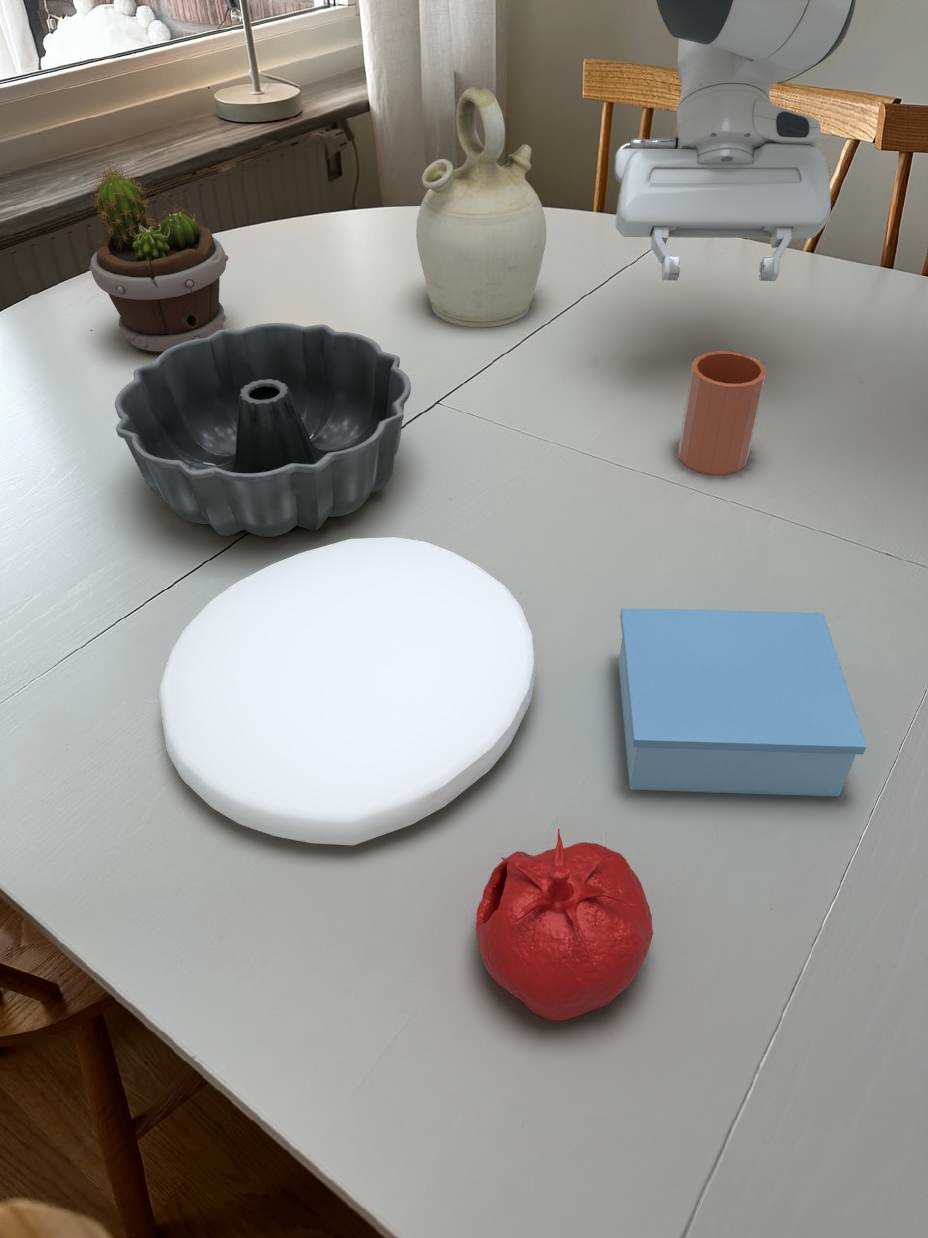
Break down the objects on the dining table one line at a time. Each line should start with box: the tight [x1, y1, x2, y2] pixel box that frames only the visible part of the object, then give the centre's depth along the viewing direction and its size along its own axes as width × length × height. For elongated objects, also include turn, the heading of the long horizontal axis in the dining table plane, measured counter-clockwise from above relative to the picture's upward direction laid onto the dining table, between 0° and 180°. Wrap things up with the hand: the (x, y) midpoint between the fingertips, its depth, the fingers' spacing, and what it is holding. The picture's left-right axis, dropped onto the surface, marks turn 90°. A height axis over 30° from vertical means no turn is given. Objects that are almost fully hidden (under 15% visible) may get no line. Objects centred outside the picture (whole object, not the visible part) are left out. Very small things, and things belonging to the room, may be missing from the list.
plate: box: [158, 536, 537, 846], centre depth 71 cm, size 28×6×27 cm
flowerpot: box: [88, 160, 229, 356], centre depth 110 cm, size 14×15×20 cm
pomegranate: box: [475, 828, 654, 1021], centre depth 55 cm, size 10×10×9 cm
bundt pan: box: [114, 322, 412, 538], centre depth 91 cm, size 26×26×10 cm
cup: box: [677, 350, 767, 477], centre depth 93 cm, size 7×7×10 cm
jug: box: [415, 85, 547, 328], centre depth 113 cm, size 15×16×25 cm
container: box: [618, 607, 867, 797], centre depth 69 cm, size 15×13×6 cm
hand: (719, 278), depth 95 cm, fingers open, 8 cm apart
